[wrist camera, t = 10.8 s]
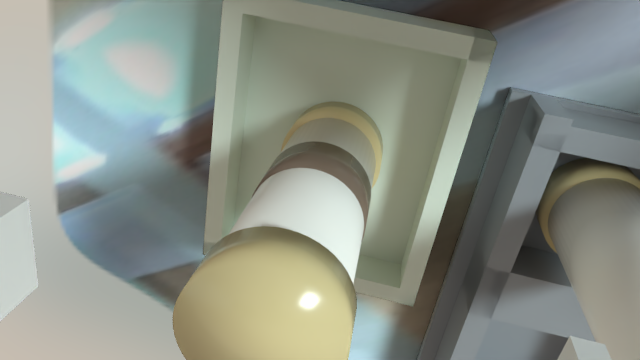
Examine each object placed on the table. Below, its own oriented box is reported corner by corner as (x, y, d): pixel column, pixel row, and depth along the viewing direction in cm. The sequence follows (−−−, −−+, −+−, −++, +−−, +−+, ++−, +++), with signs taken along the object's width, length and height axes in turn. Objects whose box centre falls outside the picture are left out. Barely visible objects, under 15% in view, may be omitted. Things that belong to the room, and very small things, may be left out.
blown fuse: (296, 92, 22) (176, 243, 11) (392, 112, 22) (366, 290, 11) (283, 178, 24) (169, 380, 13) (372, 199, 24) (330, 424, 13)
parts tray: (244, -19, 21) (223, -14, 19) (489, 30, 20) (497, 41, 18) (221, 227, 26) (202, 254, 24) (413, 274, 26) (413, 306, 23)
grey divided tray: (510, 87, 21) (523, 109, 18) (740, 135, 20) (788, 165, 18) (413, 368, 28) (412, 413, 25) (580, 411, 27) (598, 463, 25)
